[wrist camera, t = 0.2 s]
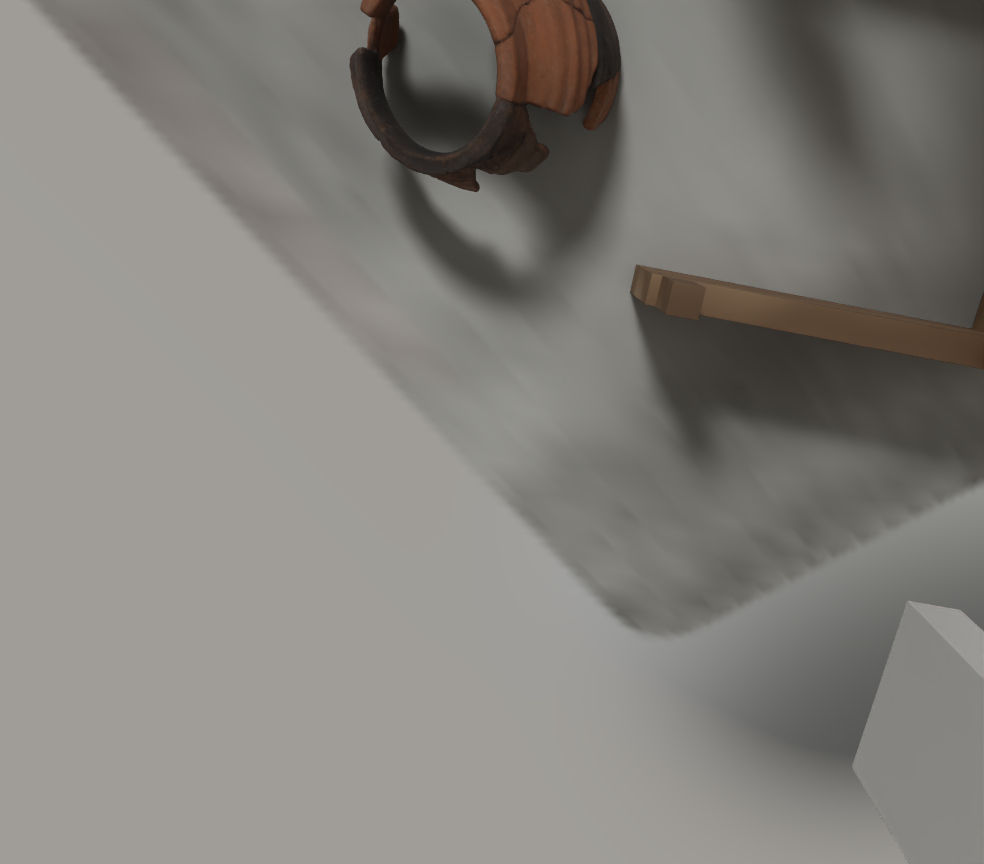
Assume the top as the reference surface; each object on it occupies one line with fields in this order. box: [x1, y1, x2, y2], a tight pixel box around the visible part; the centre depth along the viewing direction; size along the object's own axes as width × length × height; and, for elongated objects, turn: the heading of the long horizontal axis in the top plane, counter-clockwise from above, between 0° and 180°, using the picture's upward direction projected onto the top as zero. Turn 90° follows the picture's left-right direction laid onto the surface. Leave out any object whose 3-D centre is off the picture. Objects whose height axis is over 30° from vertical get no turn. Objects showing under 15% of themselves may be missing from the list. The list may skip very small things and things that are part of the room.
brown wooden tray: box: [630, 265, 984, 369], centre depth 33 cm, size 18×16×7 cm
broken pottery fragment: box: [350, 0, 621, 192], centre depth 33 cm, size 12×10×8 cm
